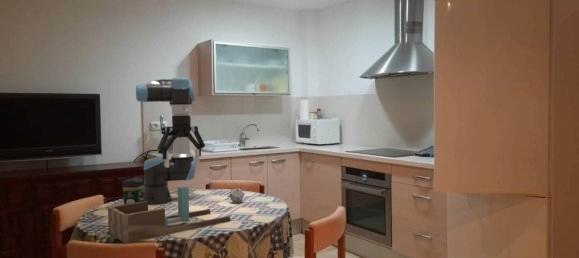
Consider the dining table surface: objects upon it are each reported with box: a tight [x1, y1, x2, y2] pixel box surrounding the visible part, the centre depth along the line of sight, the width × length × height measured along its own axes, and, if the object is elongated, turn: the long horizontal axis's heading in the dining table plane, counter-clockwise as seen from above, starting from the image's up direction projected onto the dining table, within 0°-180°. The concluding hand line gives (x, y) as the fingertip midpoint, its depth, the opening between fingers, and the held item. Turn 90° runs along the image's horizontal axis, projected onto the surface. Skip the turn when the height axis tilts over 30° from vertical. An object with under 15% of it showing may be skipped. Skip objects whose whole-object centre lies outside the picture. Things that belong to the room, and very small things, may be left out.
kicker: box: [165, 186, 190, 228], centre depth 171 cm, size 14×14×15 cm
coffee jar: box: [122, 176, 145, 205], centre depth 183 cm, size 10×8×19 cm
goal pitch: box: [107, 201, 231, 244], centre depth 171 cm, size 19×44×10 cm, turn 130°
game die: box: [227, 186, 246, 204], centre depth 215 cm, size 9×8×10 cm
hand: (182, 165), depth 174 cm, fingers open, 13 cm apart
